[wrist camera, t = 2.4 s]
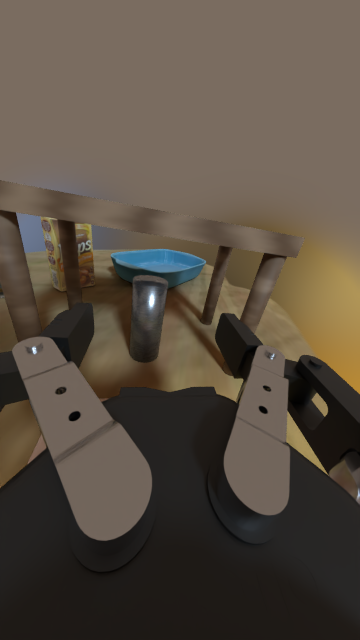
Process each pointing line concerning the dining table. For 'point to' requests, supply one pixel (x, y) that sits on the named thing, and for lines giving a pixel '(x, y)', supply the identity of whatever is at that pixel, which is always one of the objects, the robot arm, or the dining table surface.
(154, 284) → the metal canister
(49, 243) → the candy box
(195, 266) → the casserole dish
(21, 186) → the low stand
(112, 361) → the dining table surface
